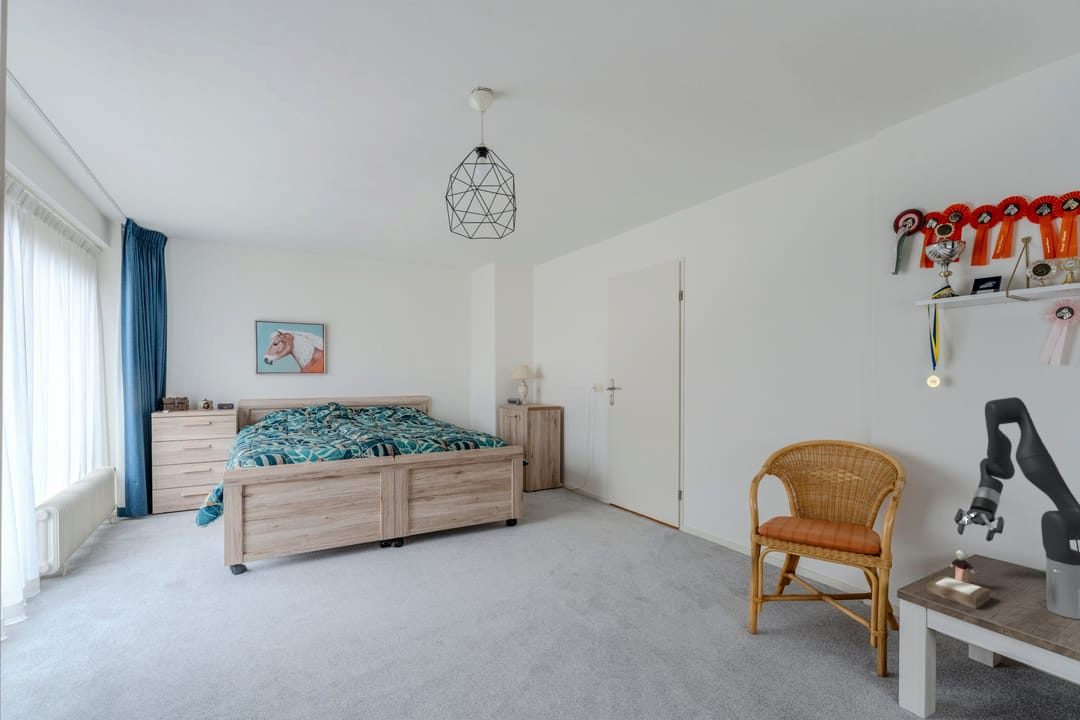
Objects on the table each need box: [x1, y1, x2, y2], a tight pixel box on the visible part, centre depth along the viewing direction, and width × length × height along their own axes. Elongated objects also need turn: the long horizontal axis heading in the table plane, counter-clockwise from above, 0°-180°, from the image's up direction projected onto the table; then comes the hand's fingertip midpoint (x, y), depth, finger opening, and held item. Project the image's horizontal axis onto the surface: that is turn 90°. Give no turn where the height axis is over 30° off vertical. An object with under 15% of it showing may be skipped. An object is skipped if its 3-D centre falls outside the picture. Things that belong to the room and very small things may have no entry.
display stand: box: [926, 575, 991, 610], centre depth 182 cm, size 14×12×4 cm
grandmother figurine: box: [949, 550, 976, 583], centre depth 191 cm, size 8×4×13 cm, turn 37°
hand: (973, 536), depth 196 cm, fingers open, 8 cm apart
